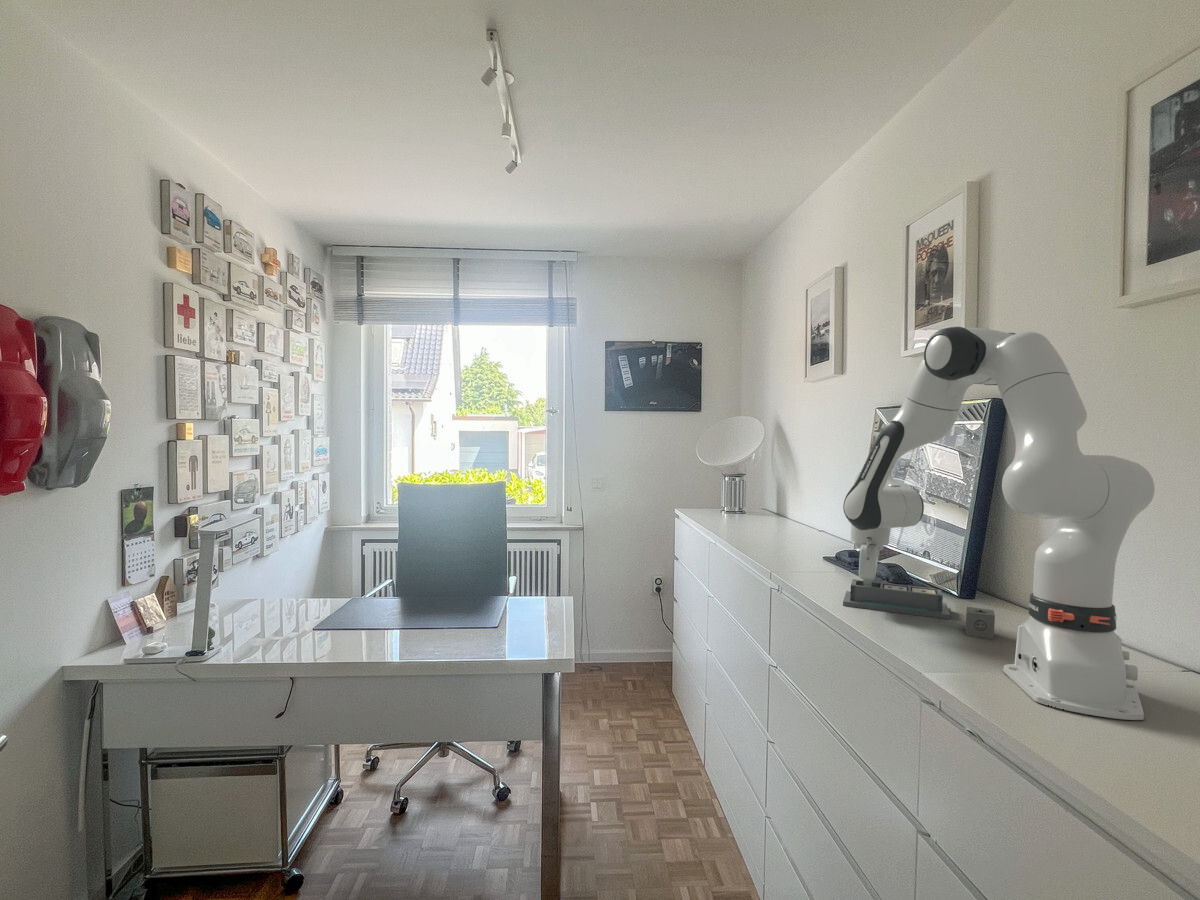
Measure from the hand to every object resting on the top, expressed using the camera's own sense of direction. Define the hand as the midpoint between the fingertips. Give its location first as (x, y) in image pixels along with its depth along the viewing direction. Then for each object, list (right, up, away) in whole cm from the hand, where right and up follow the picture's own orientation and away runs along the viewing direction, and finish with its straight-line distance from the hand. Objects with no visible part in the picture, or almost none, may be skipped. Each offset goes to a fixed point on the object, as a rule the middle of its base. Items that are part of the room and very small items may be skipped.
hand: (867, 590), depth 162 cm
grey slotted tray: (+6, -3, -3) cm, 7 cm away
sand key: (+11, -1, -5) cm, 12 cm away
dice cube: (+14, -5, -24) cm, 28 cm away
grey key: (+6, -1, -3) cm, 6 cm away
